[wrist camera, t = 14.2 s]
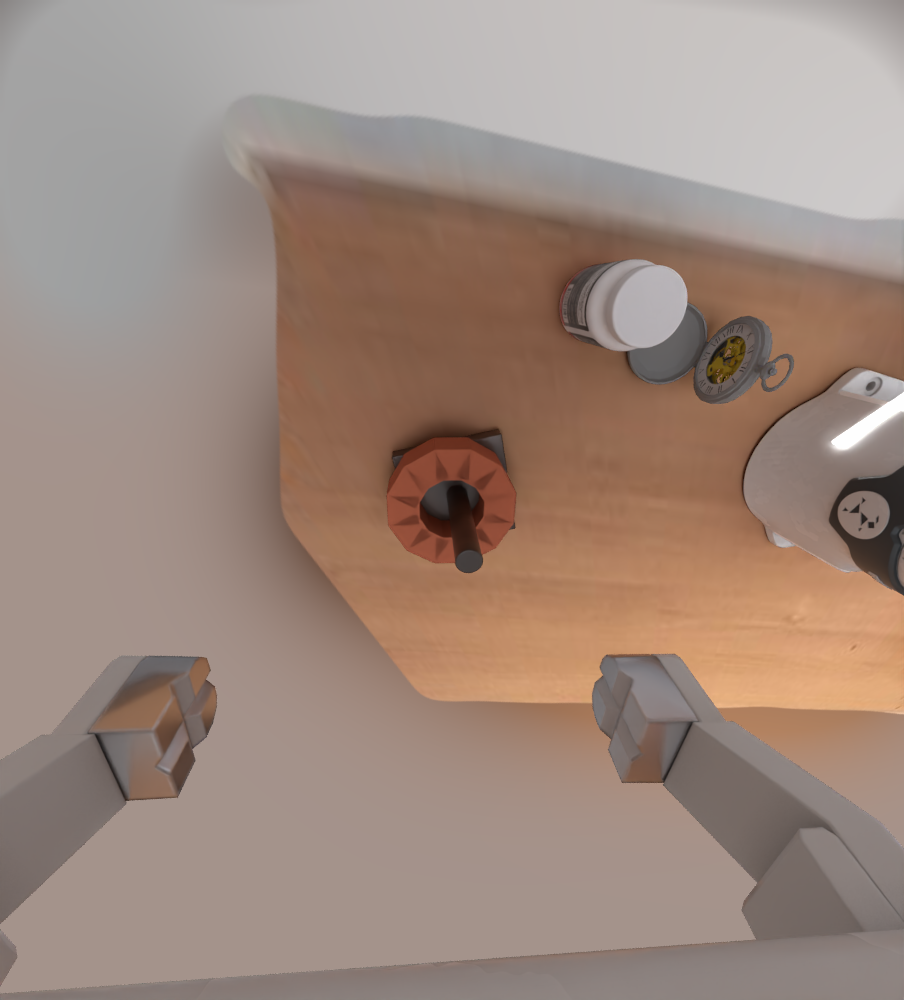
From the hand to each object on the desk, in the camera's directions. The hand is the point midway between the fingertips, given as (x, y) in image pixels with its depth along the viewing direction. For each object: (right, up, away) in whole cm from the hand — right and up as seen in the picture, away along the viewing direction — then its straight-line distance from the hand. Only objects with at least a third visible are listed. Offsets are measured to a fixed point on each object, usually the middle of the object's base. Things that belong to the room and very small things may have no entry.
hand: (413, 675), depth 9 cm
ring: (+1, +4, +31) cm, 31 cm away
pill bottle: (+12, +20, +26) cm, 35 cm away
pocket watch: (+20, +17, +28) cm, 38 cm away
